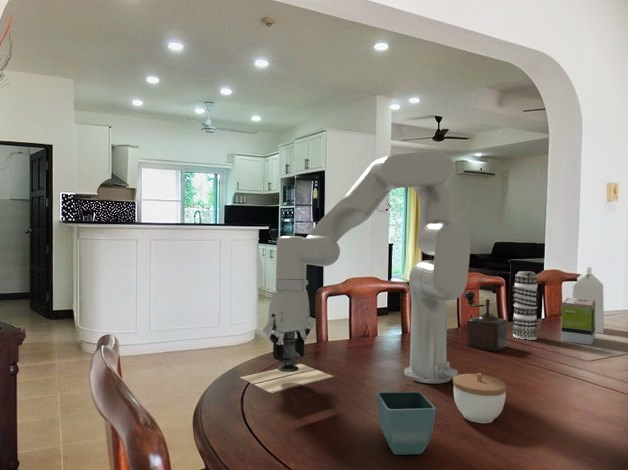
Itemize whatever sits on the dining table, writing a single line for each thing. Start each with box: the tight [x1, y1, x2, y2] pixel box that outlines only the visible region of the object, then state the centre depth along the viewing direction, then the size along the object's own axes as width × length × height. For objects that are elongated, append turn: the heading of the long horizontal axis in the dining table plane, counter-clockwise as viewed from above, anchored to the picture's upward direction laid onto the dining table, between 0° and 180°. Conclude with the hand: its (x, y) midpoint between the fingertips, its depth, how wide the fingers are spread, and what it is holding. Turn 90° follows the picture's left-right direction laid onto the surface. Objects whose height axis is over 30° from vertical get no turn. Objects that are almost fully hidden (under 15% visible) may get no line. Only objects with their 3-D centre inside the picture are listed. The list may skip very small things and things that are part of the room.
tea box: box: [560, 297, 596, 346], centre depth 173 cm, size 15×10×15 cm, turn 144°
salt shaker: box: [277, 331, 301, 372], centre depth 115 cm, size 6×6×12 cm
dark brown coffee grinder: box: [463, 291, 508, 352], centre depth 162 cm, size 16×11×18 cm
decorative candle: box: [511, 270, 540, 341], centre depth 175 cm, size 9×9×25 cm
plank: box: [254, 369, 335, 394], centre depth 116 cm, size 7×20×1 cm, turn 131°
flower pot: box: [376, 391, 437, 456], centre depth 84 cm, size 9×9×9 cm
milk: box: [572, 266, 605, 334], centre depth 193 cm, size 12×12×26 cm
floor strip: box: [239, 363, 316, 385], centre depth 121 cm, size 6×20×1 cm, turn 130°
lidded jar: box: [452, 372, 507, 424], centre depth 98 cm, size 11×11×9 cm
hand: (288, 356), depth 115 cm, fingers closed on salt shaker, 5 cm apart
